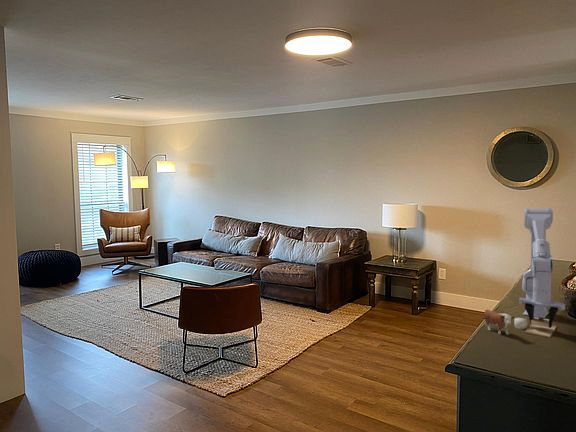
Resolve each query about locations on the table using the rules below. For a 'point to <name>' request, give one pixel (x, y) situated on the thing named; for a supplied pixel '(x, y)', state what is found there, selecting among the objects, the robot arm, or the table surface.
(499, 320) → the bull figurine
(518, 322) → the white round lump
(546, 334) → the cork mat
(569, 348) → the table surface
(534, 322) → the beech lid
